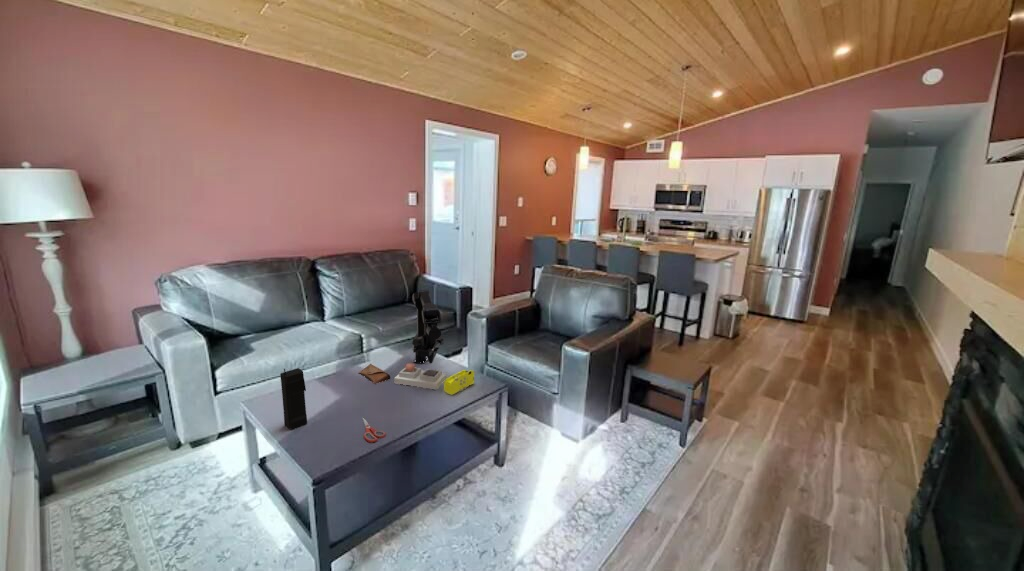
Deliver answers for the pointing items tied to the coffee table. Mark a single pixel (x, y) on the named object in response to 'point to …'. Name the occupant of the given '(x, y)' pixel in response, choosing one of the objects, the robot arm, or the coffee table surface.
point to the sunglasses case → (374, 374)
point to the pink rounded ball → (410, 367)
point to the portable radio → (293, 398)
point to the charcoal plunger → (431, 373)
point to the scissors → (370, 429)
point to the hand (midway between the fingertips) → (430, 362)
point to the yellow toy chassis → (458, 381)
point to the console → (420, 378)
